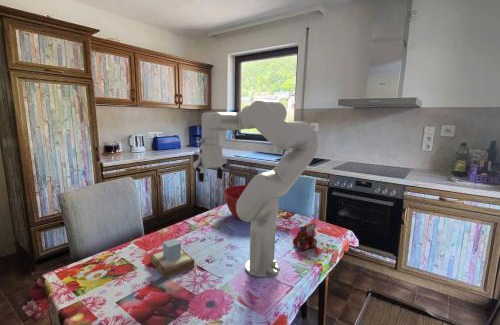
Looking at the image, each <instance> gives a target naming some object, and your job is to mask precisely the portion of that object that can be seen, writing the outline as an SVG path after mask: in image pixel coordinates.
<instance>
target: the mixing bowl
mask: <svg viewBox="0 0 500 325" xmlns="http://www.w3.org/2000/svg"><path fill="white" fill-rule="evenodd" d="M247 185H248V184H242V185H234V186H233V185H232V186H230V187H229V186H228V187H227V188H225V189H224V190H223V192H222V193H223V196H224V200H225V203H226V205H227V208H228V210H229V211H230V213H231V215H232V216H233V217H235V218H236V219H237V220H240V221H242V220H241V219H240V218H239V217H238V215H237V212H236V204H237V201H238V199H239V197H240V196H241V194H242V193H243V191H244V190H245V188H246V187H247Z"/></svg>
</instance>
